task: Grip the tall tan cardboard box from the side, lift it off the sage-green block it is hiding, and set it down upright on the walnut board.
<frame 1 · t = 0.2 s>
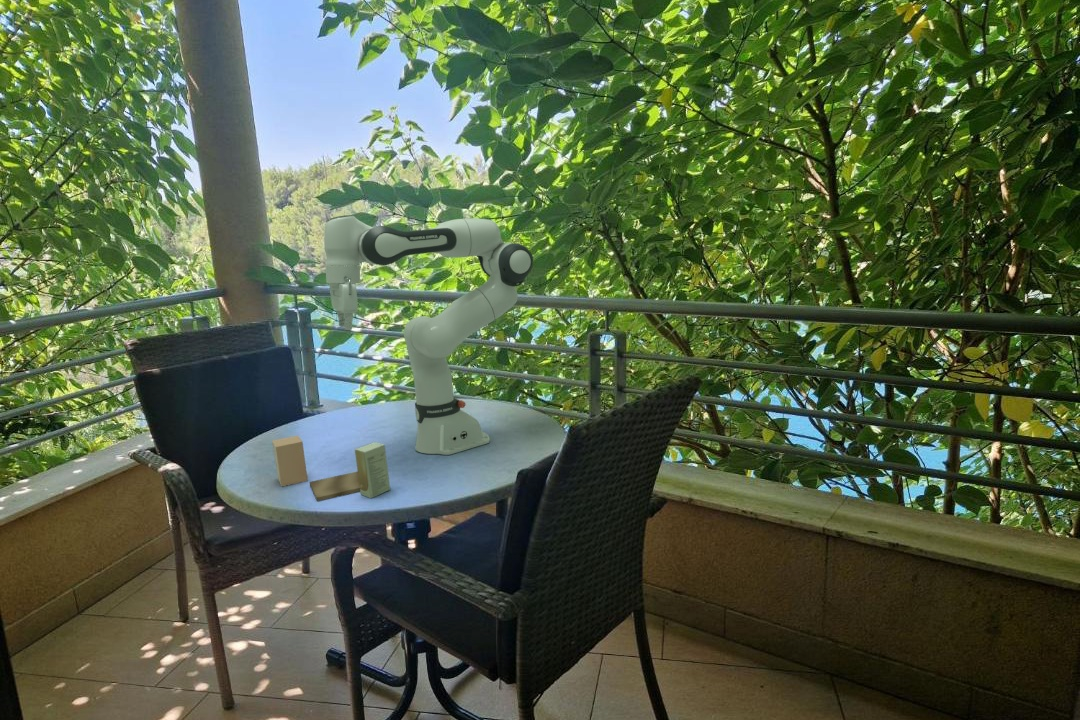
hand: (345, 328, 170), 39 cm above the table, tool pointing down, fingers open, 8 cm apart
tall tan cardboard box: (292, 480, 168), on the table
green block: (291, 473, 167), in the tall tan cardboard box
skincare box: (375, 493, 156), on the table
board: (339, 487, 161), on the table
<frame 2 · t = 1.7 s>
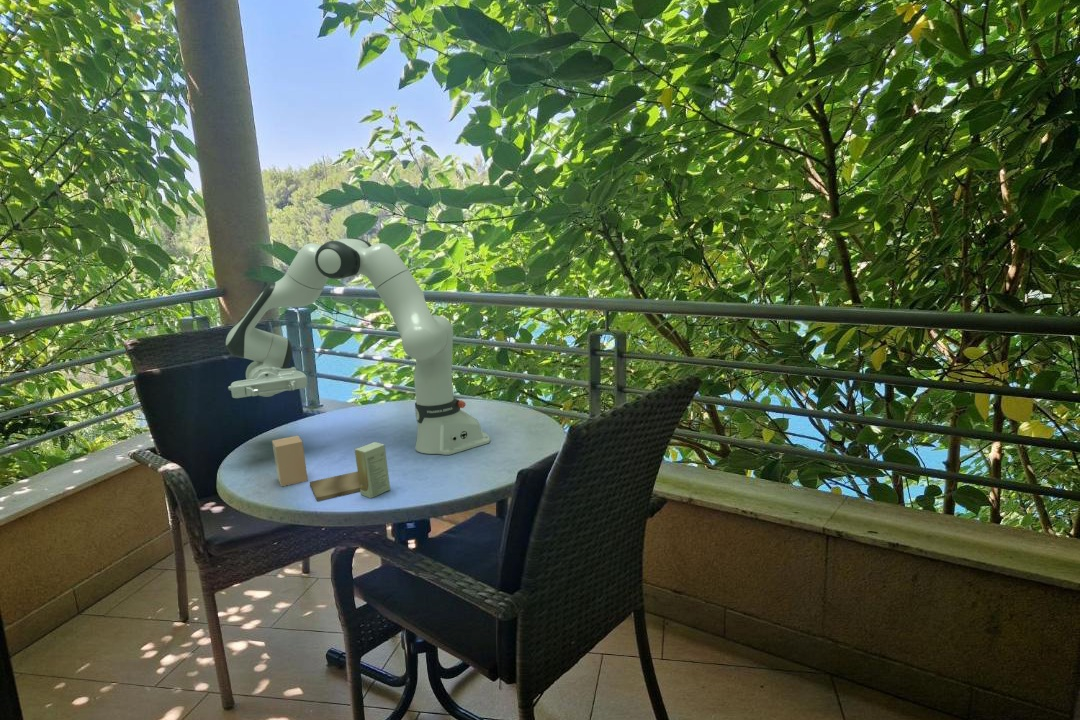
hand: (273, 390, 173), 23 cm above the table, tool horizontal, fingers open, 8 cm apart
nothing on the table moved.
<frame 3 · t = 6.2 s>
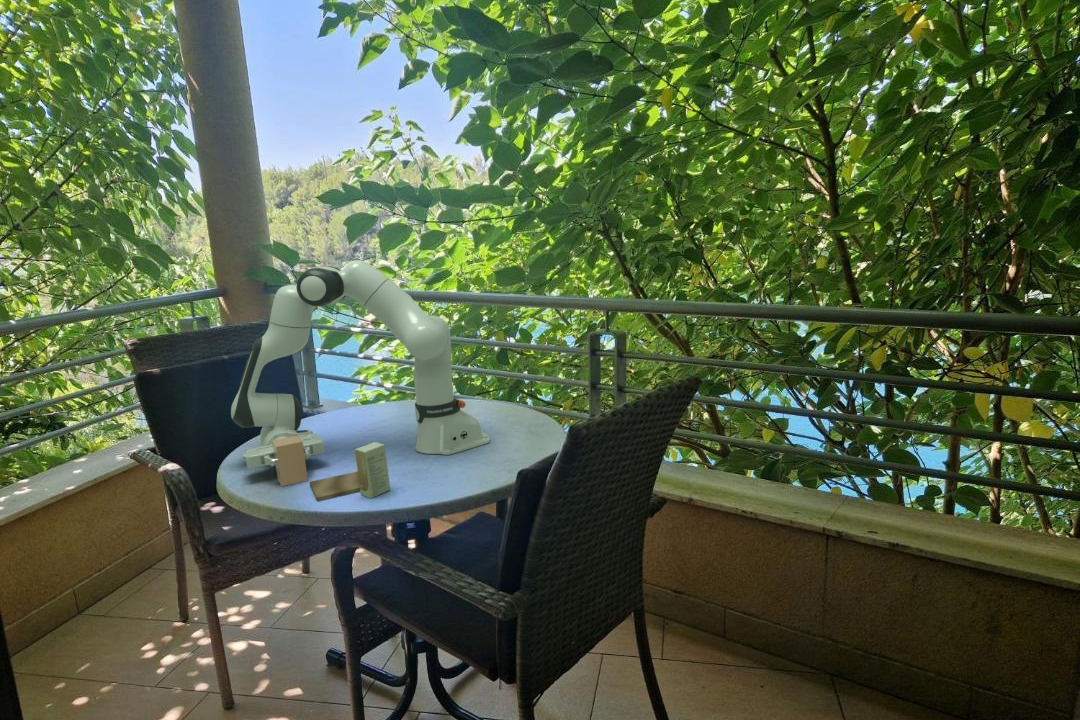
hand: (290, 459, 166), 6 cm above the table, tool horizontal, fingers closed on tall tan cardboard box, 7 cm apart
tall tan cardboard box: (292, 480, 168), on the table, touching gripper
everything else where it was.
when the fingers open (9 cm above the table, at t = 11.4 s): tall tan cardboard box drops 2 cm, resting on board.
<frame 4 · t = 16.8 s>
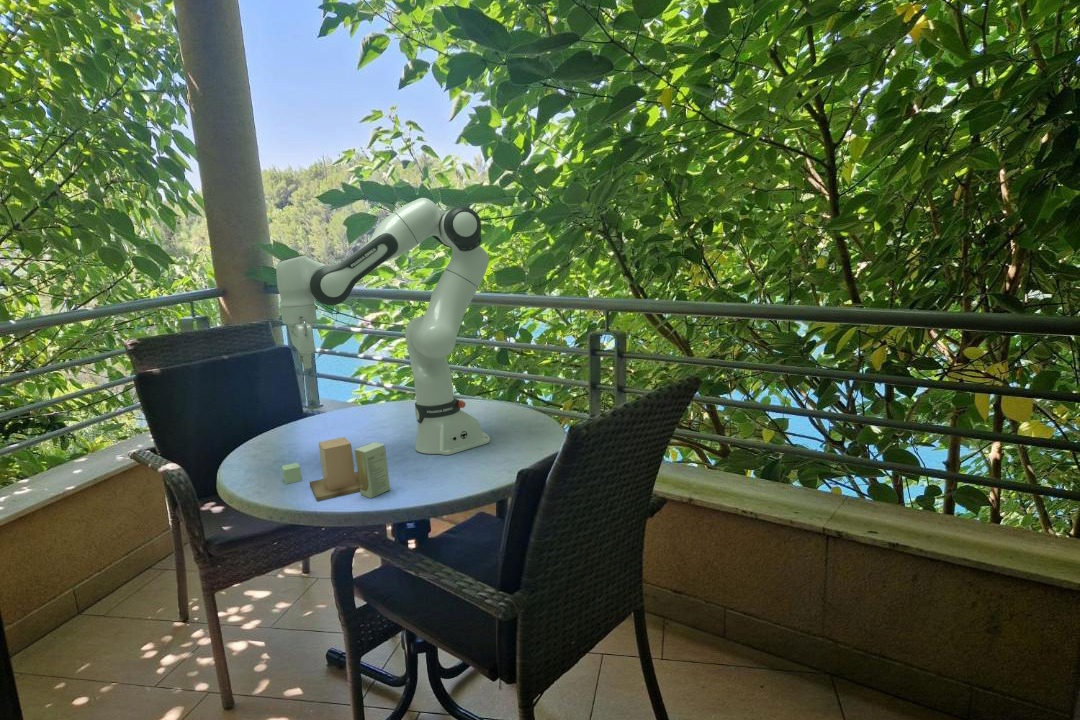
hand: (305, 365, 172), 29 cm above the table, tool pointing down, fingers open, 8 cm apart
tall tan cardboard box: (339, 483, 161), point 1 cm above the table, touching board
everything else where it was.
at the end: tall tan cardboard box inside the target area on the board (0.1 cm from its centre), point 1.0 cm above the board's base; tall tan cardboard box tilted 0°; the gripper is holding nothing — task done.
